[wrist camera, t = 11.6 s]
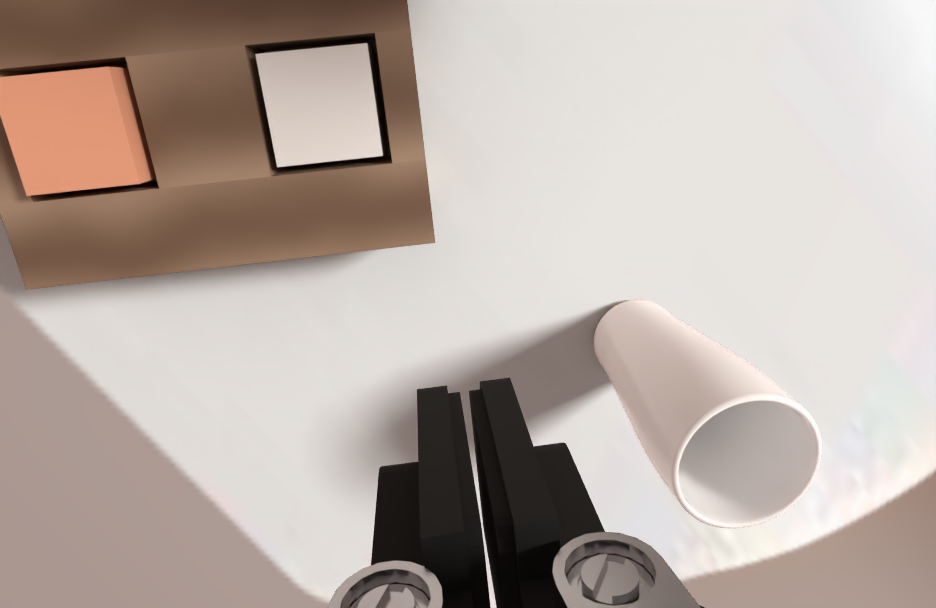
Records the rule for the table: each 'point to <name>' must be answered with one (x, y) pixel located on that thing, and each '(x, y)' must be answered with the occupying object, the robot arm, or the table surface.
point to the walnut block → (213, 140)
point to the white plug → (322, 104)
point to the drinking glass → (707, 418)
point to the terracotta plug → (75, 130)
